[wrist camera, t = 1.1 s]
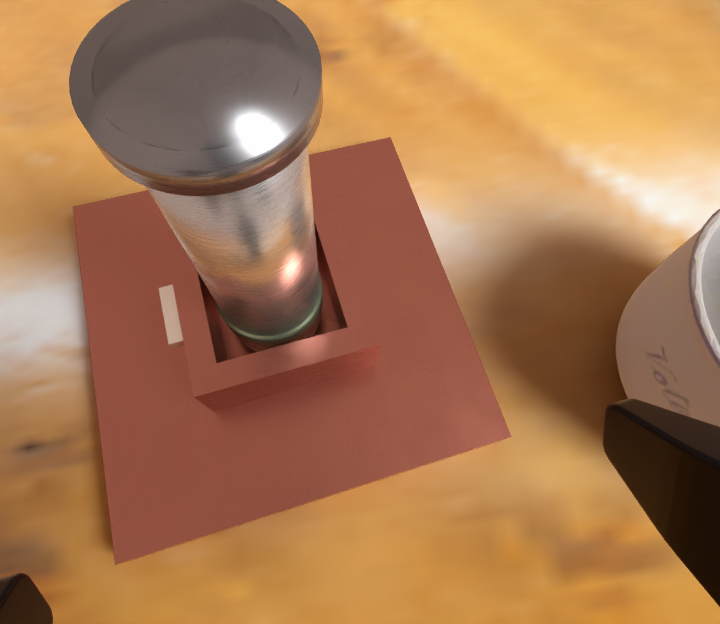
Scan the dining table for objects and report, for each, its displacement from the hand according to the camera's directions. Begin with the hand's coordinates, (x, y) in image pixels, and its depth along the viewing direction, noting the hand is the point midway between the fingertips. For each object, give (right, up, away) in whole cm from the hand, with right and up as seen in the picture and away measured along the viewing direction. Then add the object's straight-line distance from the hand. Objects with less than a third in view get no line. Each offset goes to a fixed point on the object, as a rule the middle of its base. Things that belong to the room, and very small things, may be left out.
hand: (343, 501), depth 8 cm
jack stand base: (-4, +2, +16) cm, 16 cm away
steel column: (-3, +3, +14) cm, 15 cm away
